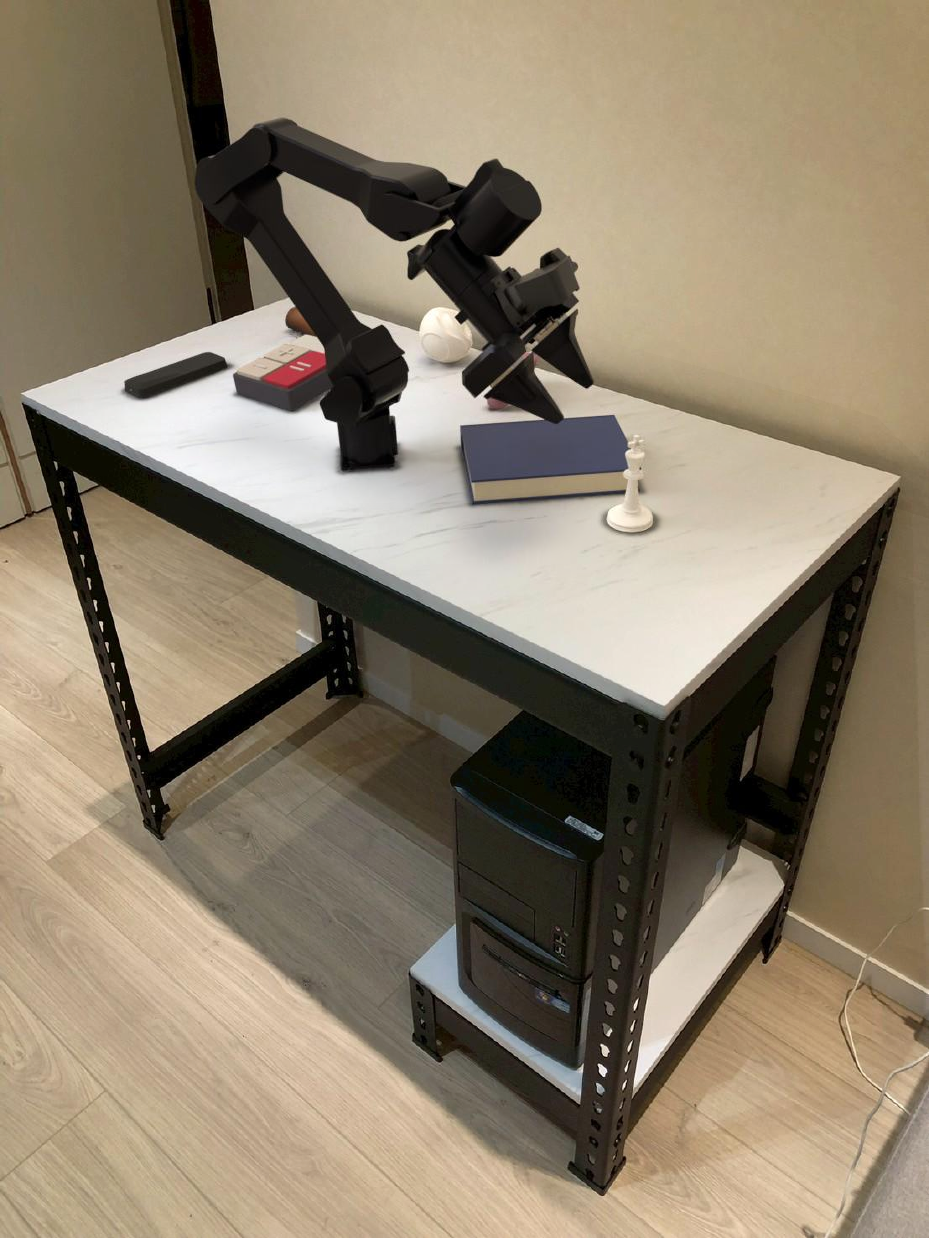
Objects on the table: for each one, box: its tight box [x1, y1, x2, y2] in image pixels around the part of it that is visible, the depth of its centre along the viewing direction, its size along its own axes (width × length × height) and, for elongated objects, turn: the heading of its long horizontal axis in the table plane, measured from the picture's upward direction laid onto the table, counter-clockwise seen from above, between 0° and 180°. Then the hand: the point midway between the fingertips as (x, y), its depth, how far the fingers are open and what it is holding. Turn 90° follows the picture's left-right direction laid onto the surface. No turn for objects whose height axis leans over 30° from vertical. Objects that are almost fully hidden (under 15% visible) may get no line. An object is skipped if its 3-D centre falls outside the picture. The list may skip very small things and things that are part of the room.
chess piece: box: [606, 434, 654, 533], centre depth 103 cm, size 5×5×10 cm
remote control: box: [123, 351, 228, 399], centre depth 141 cm, size 5×2×15 cm
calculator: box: [232, 334, 334, 412], centre depth 137 cm, size 11×4×15 cm
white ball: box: [418, 307, 473, 364], centre depth 141 cm, size 8×8×8 cm
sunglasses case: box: [284, 306, 316, 337], centre depth 150 cm, size 18×7×7 cm
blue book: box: [459, 414, 642, 505], centre depth 115 cm, size 19×14×3 cm
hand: (576, 403), depth 100 cm, fingers open, 9 cm apart
